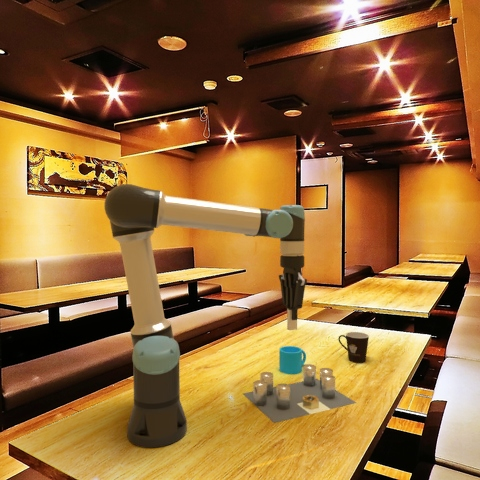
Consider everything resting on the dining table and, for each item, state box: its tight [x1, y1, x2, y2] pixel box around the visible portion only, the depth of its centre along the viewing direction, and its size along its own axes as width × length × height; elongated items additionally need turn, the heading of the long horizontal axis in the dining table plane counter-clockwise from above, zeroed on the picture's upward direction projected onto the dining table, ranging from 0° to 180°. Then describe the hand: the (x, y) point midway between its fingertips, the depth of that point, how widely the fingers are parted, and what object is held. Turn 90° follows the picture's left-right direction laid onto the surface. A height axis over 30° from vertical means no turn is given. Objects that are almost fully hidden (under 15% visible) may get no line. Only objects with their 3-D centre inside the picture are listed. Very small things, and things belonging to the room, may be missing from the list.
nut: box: [303, 395, 319, 409], centre depth 115 cm, size 5×4×2 cm
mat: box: [242, 378, 357, 424], centre depth 120 cm, size 28×20×1 cm
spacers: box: [252, 363, 336, 410], centre depth 121 cm, size 28×14×6 cm, turn 115°
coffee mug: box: [337, 331, 370, 364], centre depth 155 cm, size 12×9×10 cm
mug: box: [278, 345, 307, 375], centre depth 144 cm, size 12×8×8 cm
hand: (292, 329), depth 124 cm, fingers closed
